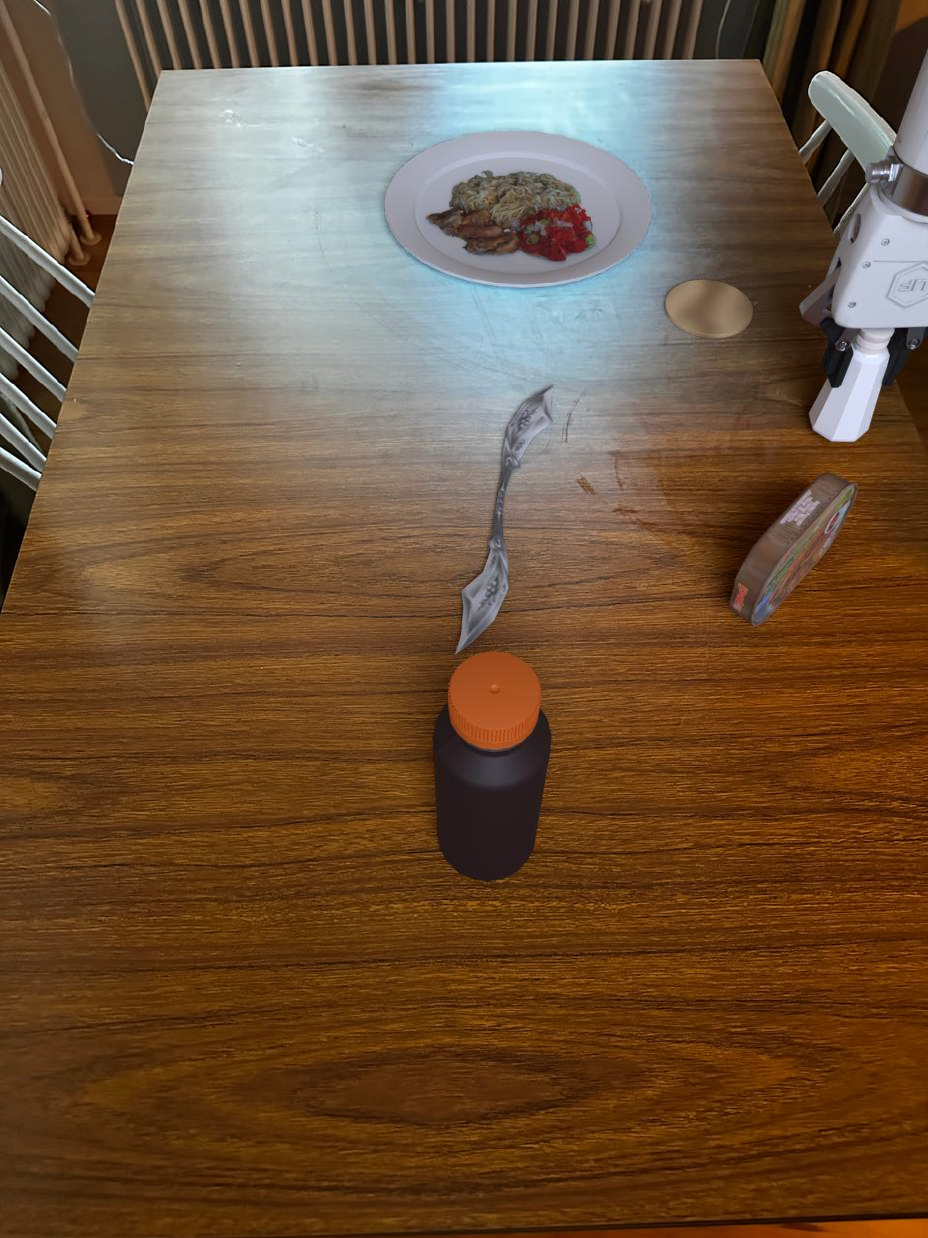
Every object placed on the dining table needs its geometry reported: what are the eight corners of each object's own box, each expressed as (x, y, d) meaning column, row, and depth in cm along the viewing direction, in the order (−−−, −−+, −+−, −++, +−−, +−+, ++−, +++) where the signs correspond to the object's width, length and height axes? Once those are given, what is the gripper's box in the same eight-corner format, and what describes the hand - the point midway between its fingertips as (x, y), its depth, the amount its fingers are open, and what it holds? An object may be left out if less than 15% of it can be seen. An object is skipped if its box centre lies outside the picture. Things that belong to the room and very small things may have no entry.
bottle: (532, 789, 68) (554, 634, 52) (538, 882, 64) (565, 746, 48) (437, 791, 68) (429, 636, 52) (437, 884, 64) (429, 748, 48)
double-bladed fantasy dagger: (559, 388, 92) (508, 381, 92) (559, 383, 91) (509, 376, 92) (509, 665, 74) (447, 655, 74) (509, 661, 73) (447, 651, 74)
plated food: (444, 126, 119) (444, 98, 117) (678, 175, 113) (683, 147, 111) (340, 261, 103) (337, 233, 101) (606, 327, 97) (610, 299, 95)
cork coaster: (743, 282, 102) (744, 278, 101) (759, 338, 96) (760, 334, 96) (659, 283, 101) (659, 279, 101) (671, 338, 96) (672, 334, 96)
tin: (744, 645, 75) (773, 580, 68) (710, 622, 76) (736, 557, 70) (841, 537, 82) (876, 468, 75) (808, 518, 83) (840, 448, 76)
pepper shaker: (846, 396, 90) (886, 297, 81) (880, 434, 87) (925, 336, 78) (796, 411, 89) (831, 312, 80) (828, 450, 86) (868, 352, 77)
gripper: (835, 210, 66) (770, 409, 81) (1075, 203, 66) (965, 403, 81) (810, 152, 70) (753, 350, 86) (1035, 145, 70) (938, 345, 85)
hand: (857, 374), depth 83 cm, fingers closed on pepper shaker, 3 cm apart
